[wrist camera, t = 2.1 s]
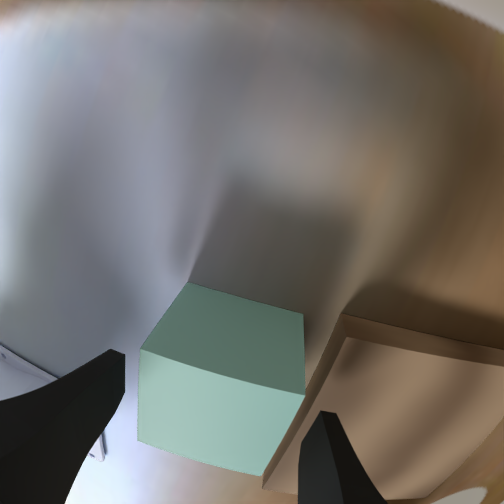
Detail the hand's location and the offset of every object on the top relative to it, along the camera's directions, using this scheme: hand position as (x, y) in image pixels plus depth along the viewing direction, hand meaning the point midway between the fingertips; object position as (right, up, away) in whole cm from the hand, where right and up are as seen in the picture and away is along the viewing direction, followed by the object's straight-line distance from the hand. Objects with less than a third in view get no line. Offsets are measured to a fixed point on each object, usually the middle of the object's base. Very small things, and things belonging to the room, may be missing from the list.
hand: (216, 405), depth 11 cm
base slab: (+9, -4, +4) cm, 11 cm away
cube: (0, +1, +4) cm, 4 cm away
